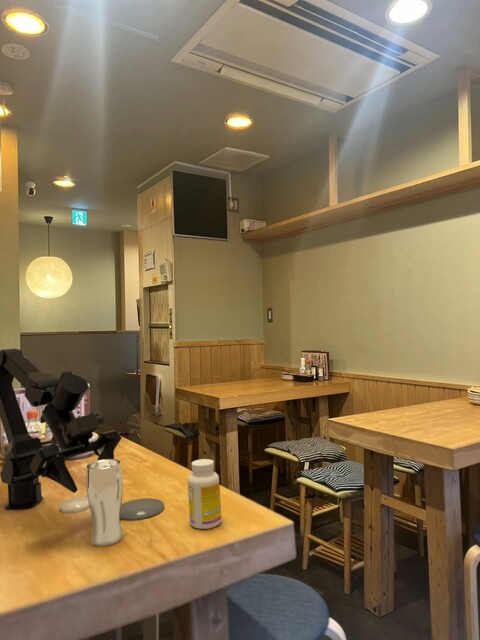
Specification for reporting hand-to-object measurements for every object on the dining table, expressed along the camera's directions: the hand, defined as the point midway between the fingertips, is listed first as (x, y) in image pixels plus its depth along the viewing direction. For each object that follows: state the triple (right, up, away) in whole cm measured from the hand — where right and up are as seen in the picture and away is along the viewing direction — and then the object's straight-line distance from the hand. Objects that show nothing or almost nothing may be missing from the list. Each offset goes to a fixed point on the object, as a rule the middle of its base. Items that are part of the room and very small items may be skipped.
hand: (96, 484), depth 96 cm
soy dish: (-9, -11, +16) cm, 21 cm away
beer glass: (+3, -10, -2) cm, 11 cm away
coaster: (+6, -10, +12) cm, 17 cm away
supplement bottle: (+22, -9, +3) cm, 24 cm away
